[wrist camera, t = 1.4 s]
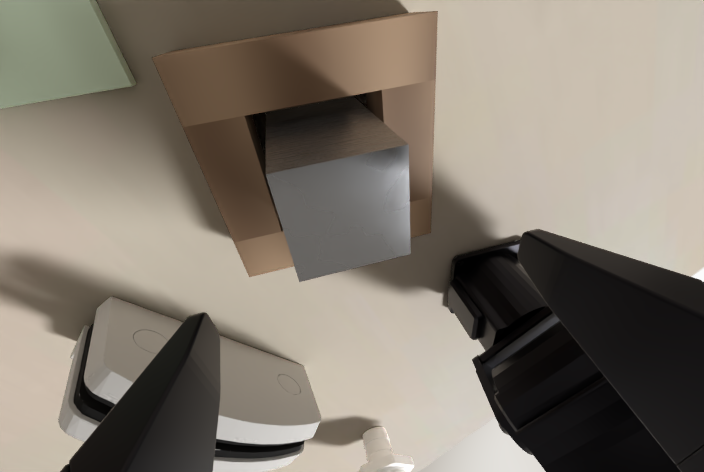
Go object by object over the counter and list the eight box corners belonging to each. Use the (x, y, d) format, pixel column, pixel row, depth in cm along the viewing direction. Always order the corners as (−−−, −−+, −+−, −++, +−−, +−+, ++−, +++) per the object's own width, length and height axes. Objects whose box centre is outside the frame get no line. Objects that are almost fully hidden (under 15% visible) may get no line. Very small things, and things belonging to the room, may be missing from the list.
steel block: (352, 96, 16) (408, 144, 10) (362, 175, 19) (410, 254, 13) (266, 112, 16) (265, 174, 9) (288, 191, 19) (299, 281, 12)
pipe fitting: (376, 447, 43) (396, 523, 36) (337, 442, 39) (351, 525, 33) (409, 424, 41) (435, 499, 34) (371, 415, 37) (393, 498, 31)
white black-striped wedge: (70, 339, 21) (-8, 482, 13) (112, 283, 21) (61, 387, 13) (271, 395, 30) (304, 500, 22) (300, 355, 30) (343, 444, 22)
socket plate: (409, 12, 15) (437, 11, 12) (412, 208, 21) (430, 232, 19) (172, 51, 14) (151, 57, 11) (251, 246, 20) (249, 277, 18)
